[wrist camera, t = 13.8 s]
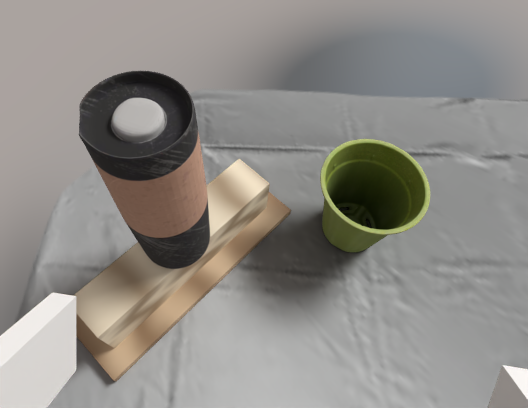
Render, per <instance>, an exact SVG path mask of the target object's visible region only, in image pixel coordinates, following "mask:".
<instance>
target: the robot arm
mask: <svg viewBox="0 0 528 408" xmlns="http://www.w3.org/2000/svg"><path fill="white" fill-rule="evenodd" d="M75 371H76V296H71V295H65V294H59V293H53V292H52V293H51V294H50V295H49V296H48V297H46V298H45V299H44V300H43V301H42V302H40V303H39V304H38V305H37V306H36V307H34V308H33V309H32V310H31V311H30V312H28V313H27V314H26V315H25V316H24V317H22V318H21V319H20V320H19V321H18V322H16V323H15V324H14V325H13V326H12V327H10V328H9V329H8V330H7V331H6V332H5V333H4V334H2V335H1V336H0V408H47V407H48V406H49V404H50V403H51V402H52V400H53V399H54V398H55V397H56V395H57V394H58V393H59V392H60V390H61V389H62V388H63V386H64V385H65V384H66V383H67V381H68V380H69V379H70V378H71V376H72V375H73V374H74V372H75ZM488 408H528V369H523V368H516V367H510V366H504V365H502V368H501V371H500V374H499V377H498V379H497V382H496V385H495V388H494V391H493V394H492V396H491V399H490V402H489V405H488Z"/></svg>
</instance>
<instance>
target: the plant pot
mask: <svg viewBox="0 0 528 408" xmlns="http://www.w3.org/2000/svg"><path fill="white" fill-rule="evenodd" d="M320 181H321V188H322V192H323V195H324V198H325V199H324V210H323V219H322V228H323V232H324V234H325V236H326V238H327V239H328V241H329V242H330V243H331V244H332V245H334V246H336V247H338V248H339V249H341V250H343V251H346V252H360V251H363V250H365V249H367V248H369V247H370V246H372V245H373V244H375V243H376V242H378V241H379V240H381V239H382V238H384V237H386V236H387V235H390V234H397V233H400V232H403V231H406V230H408V229H410V228H412V227H413V226H415V225H416V224H417V223H418V222H419V221H420V220H421V219H422V218H423V217H424V215H425V213H426V211H427V209H428V206H429V202H430V188H429V183H428V180H427V177H426V175H425V173H424V171H423V170H422V168H421V167H420V165H419V164H418V163H417V162H416V161H415V160H414V159H413V158H412V157H411V156H410V155H409V154H408V153H406V152H405V151H403V150H402V149H400V148H398V147H396V146H394V145H392V144H390V143H387V142H384V141H379V140H373V139H359V140H353V141H349V142H346V143H344V144H342V145H340V146H338V147H337V148H335V149H334V150H333V151H332V152H331V153H330V154H329V155H328V157H327V158H326V160H325V162H324V164H323V166H322V170H321V176H320ZM342 207H349V210H342V211H339V210H338V209H339V208H342ZM366 219H368V220H369V221H370V224H371V228H368V226H367V223H366Z"/></svg>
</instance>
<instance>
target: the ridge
mask: <svg viewBox="0 0 528 408" xmlns="http://www.w3.org/2000/svg"><path fill="white" fill-rule="evenodd" d="M269 185H270V184H269V183H268V182H267V181H266V180H265V179H263V178H262V177H261V176H260V175H258V174H257V173H256V172H255V171H254V170H252V169H251V168H250V167H249V166H247V165H246V164H245V163H244V162H243V161H241V160H240V159H238V160H237V161H236V162H234V163H233V164H232V165H231V166H230V167H228V168H227V169H226V170H225V171H224V172H222V173H221V174H220V175H219V176H217V177H216V178H215V179H214V180H213V181H211V182H210V183H209V184H208V185H207V186H206V187H207V195H208V209H209V224H210V241H209V245H208V248H207V250H206V252H205V253H204V254H203V256H202V257H201V258H200V259H199V260H198V261H196V262H195V263H193V264H192V265H190V266H187V267H184V268H180V269H169V268H164V267H161V266H159V265H157V264H155V263H154V262H153V261H152V260H151V259H150V258H149V257H148V256H147V255H146V253H145V252H144V250H143V249H142V247H141V245H140V244H139V242H138V243H136V244H135V245H134V246H133V247H131V248H130V249H129V250H128V251H127V252H125V253H124V254H123V255H122V256H121V257H119V258H118V259H117V260H116V261H115V262H113V263H112V264H111V265H110V266H108V267H107V268H106V269H105V270H104V271H102V272H101V273H100V274H99V275H98V276H96V277H95V278H94V279H93V280H91V281H90V282H89V283H88V284H87V285H85V286H84V287H83V288H82V289H81V290H79V291H78V292H77V293H76V294H75V295H73V296H76V336H77V338H78V339H79V340H80V341H81V342H82V343H83V345H84V346H85V347H86V348H87V349H88V351H89V352H90V353H91V354H92V355H93V357H94V358H95V359H96V360H97V361H98V363H99V364H100V365H101V366H102V367H103V369H104V370H105V371H106V372H107V373H108V375H109V376H110V377H111V378H112V379H113V380H114V381H117V380H118V379H119V378H120V377H121V376H123V375H124V374H125V373H126V372H127V371H128V370H129V369H130V368H131V367H132V366H133V365H134V364H135V363H136V362H137V361H138V360H139V359H140V358H141V357H142V356H143V355H144V354H145V353H146V352H147V351H148V350H149V349H150V348H151V347H153V346H154V345H155V344H156V343H157V342H158V341H159V340H160V339H161V338H162V337H163V336H164V335H165V334H166V333H167V332H168V331H169V330H170V329H171V328H172V327H173V326H174V325H175V324H176V323H177V322H178V321H179V320H180V319H182V318H183V317H184V316H185V315H186V314H187V313H188V312H189V311H190V310H191V309H192V308H193V307H194V306H195V305H196V304H197V303H198V302H199V301H200V300H201V299H202V298H203V297H204V296H205V295H206V294H207V293H208V292H209V291H211V290H212V289H213V288H214V287H215V286H216V285H217V284H218V283H219V282H220V281H221V280H222V279H223V278H224V277H225V276H226V275H227V274H228V273H229V272H230V271H231V270H232V269H233V268H234V267H235V266H236V265H237V264H238V263H240V262H241V261H242V260H243V259H244V258H245V257H246V256H247V255H248V254H249V253H250V252H251V251H252V250H253V249H254V248H255V247H256V246H257V245H258V244H259V243H260V242H261V241H262V240H263V239H264V238H265V237H266V236H267V235H269V234H270V233H271V232H272V231H273V230H274V229H275V228H276V227H277V226H278V225H279V224H280V223H281V222H282V221H283V220H284V219H285V218H286V217H287V216H288V215H289V214H290V212H291V210H290V209H289V208H288V207H287V206H285V205H284V204H283V203H282V202H281V201H279V200H278V199H277V198H276V197H275V196H273V195H272V194H271V193H270V192H269Z"/></svg>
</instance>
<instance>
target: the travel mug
mask: <svg viewBox="0 0 528 408" xmlns="http://www.w3.org/2000/svg"><path fill="white" fill-rule="evenodd" d="M79 125H80V126H79V136H80V138H81V139H82V141H83V143H84V144H85V146H86V148H87V150H88V152H89V154H90V155H91V157H92V159H93V161H94V163H95V165H96V167H97V169H98V171H99V173H100V175H101V177H102V179H103V180H104V182H105V184H106V186H107V188H108V190H109V192H110V194H111V196H112V198H113V200H114V201H115V203H116V205H117V207H118V209H119V211H120V213H121V215H122V217H123V219H124V220H125V222H126V223H127V225H128V227H129V228H130V230H131V231H132V233H133V234H134V236H135V238H136V239H137V241H138V242H139V244H140V245H141V247H142V249H143V250H144V252H145V253H146V255H147V256H148V257H149V258H150V259H151V260H152V261H153V262H154V263H155V264H157V265H159V266H161V267H164V268H169V269H180V268H184V267H187V266H190V265H192V264H193V263H195V262H196V261H198V260H199V259H200V258H201V257H202V256H203V254H204V253H205V252H206V250H207V248H208V245H209V241H210V224H209V209H208V195H207V187H206V180H205V173H204V167H203V160H202V153H201V147H200V140H199V133H198V126H197V120H196V113H195V108H194V103H193V101H192V98H191V96H190V94H189V93H188V91H187V90H186V89H185V88H184V87H183V86H182V85H181V84H180V83H179V82H178V81H176V80H174V79H173V78H171V77H169V76H166V75H164V74H160V73H156V72H150V71H131V72H125V73H121V74H117V75H114V76H112V77H110V78H107V79H105V80H103V81H102V82H100V83H99V84H97V85H96V86H94V87H93V88H92V89H91V90H90V91H89V92H88V93H87V94H86V95H85V97H84V98H83V99H82V101H81V103H80V124H79Z"/></svg>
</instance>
